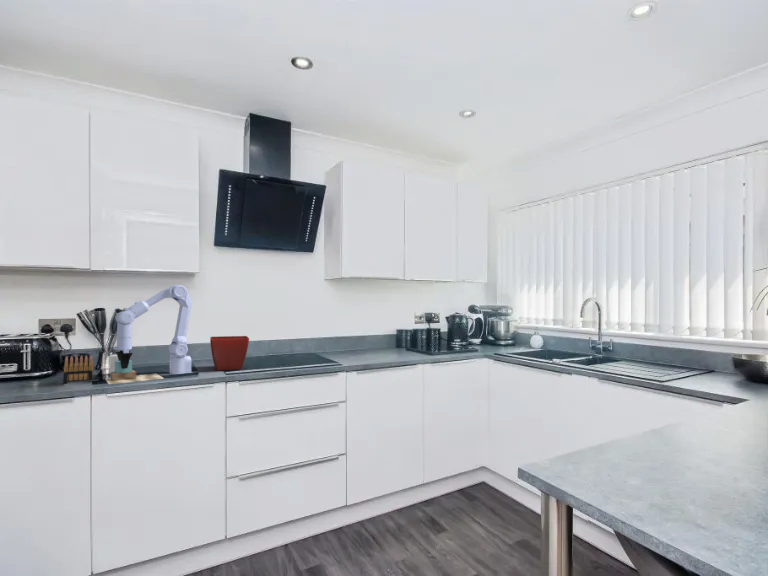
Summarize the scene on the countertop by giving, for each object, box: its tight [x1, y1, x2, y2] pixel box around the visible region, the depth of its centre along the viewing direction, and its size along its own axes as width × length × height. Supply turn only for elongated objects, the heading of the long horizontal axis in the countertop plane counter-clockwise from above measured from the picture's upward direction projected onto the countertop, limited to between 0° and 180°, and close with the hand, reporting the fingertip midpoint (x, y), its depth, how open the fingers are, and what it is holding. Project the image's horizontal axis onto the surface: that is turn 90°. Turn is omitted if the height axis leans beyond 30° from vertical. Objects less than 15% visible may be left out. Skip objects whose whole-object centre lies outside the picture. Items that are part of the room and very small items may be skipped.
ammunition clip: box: [62, 354, 94, 385], centre depth 182 cm, size 11×2×12 cm, turn 119°
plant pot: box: [209, 335, 250, 371], centre depth 220 cm, size 19×19×17 cm
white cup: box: [108, 353, 119, 376], centre depth 199 cm, size 8×8×10 cm
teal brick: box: [115, 359, 133, 373], centre depth 185 cm, size 6×4×5 cm
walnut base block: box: [110, 369, 137, 381], centre depth 185 cm, size 9×7×3 cm
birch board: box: [104, 373, 165, 385], centre depth 186 cm, size 21×17×1 cm
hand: (123, 367), depth 185 cm, fingers open, 5 cm apart
